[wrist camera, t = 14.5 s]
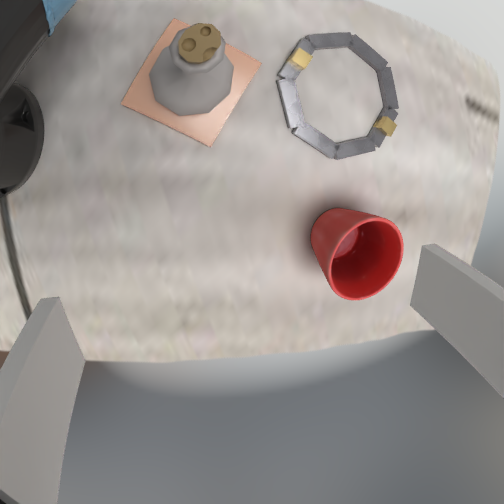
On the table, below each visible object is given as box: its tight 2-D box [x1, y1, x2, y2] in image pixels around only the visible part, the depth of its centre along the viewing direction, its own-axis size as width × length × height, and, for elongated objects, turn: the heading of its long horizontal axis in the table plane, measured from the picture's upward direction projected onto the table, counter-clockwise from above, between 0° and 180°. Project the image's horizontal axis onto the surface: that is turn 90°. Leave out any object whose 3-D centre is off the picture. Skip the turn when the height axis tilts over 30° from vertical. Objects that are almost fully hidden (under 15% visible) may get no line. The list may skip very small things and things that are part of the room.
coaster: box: [121, 19, 262, 147], centre depth 31 cm, size 12×12×1 cm
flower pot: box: [311, 208, 403, 300], centre depth 40 cm, size 11×11×10 cm
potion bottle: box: [149, 23, 234, 116], centre depth 23 cm, size 9×9×18 cm
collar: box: [276, 32, 399, 160], centre depth 35 cm, size 17×17×2 cm
